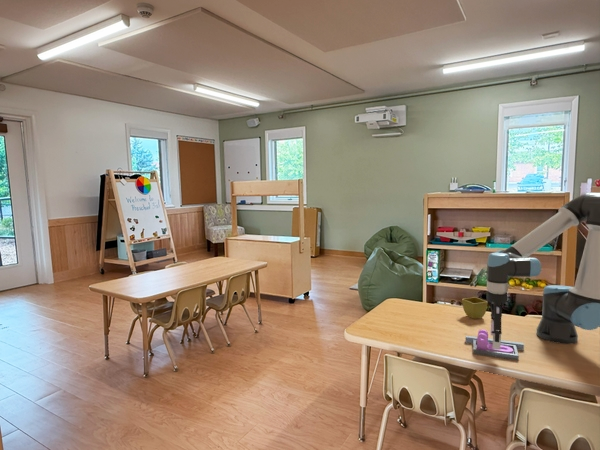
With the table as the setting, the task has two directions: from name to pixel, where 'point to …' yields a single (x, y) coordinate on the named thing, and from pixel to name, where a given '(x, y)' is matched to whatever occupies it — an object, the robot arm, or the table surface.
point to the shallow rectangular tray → (496, 354)
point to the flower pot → (474, 307)
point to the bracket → (484, 345)
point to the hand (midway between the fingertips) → (495, 342)
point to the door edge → (518, 345)
